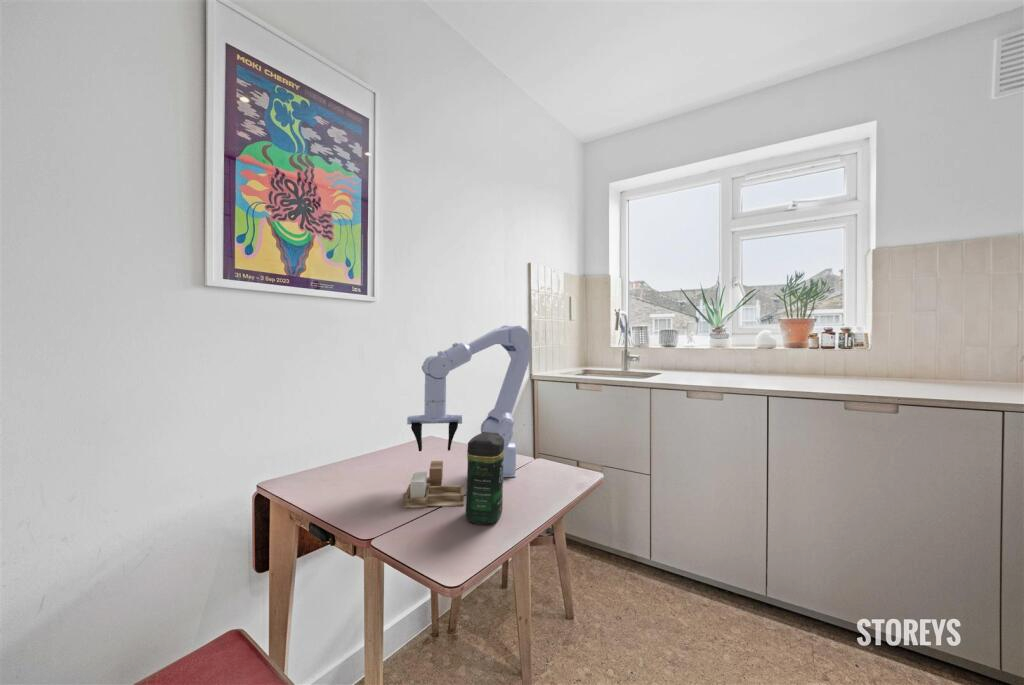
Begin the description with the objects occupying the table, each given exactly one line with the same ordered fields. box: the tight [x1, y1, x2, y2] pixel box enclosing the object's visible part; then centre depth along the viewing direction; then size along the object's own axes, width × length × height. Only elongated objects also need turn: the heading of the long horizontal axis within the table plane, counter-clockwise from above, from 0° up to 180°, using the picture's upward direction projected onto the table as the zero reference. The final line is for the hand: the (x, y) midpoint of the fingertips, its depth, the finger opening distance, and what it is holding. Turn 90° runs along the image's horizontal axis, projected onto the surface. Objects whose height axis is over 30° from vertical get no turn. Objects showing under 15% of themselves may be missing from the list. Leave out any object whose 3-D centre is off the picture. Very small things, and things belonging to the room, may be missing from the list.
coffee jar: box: [465, 432, 504, 525], centre depth 90 cm, size 10×8×19 cm
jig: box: [402, 482, 465, 508], centre depth 99 cm, size 14×10×2 cm
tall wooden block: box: [428, 460, 444, 486], centre depth 110 cm, size 7×3×5 cm, turn 7°
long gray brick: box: [409, 471, 428, 499], centre depth 99 cm, size 3×7×5 cm, turn 7°
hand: (434, 449), depth 108 cm, fingers open, 7 cm apart
